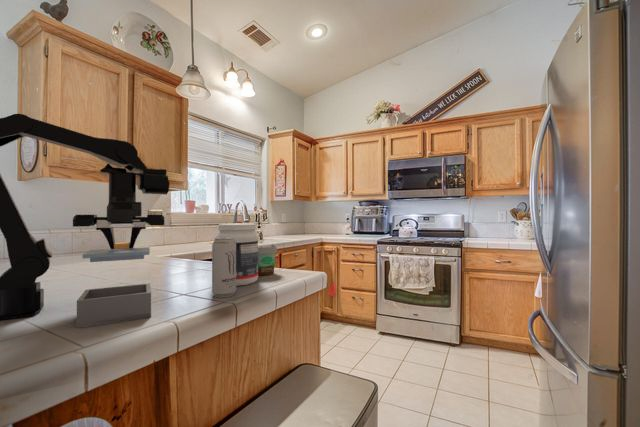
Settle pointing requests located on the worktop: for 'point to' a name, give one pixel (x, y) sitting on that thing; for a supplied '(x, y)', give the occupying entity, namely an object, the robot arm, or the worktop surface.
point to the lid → (117, 253)
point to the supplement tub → (243, 250)
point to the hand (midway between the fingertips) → (122, 254)
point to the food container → (266, 260)
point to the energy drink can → (223, 267)
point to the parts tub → (113, 305)
